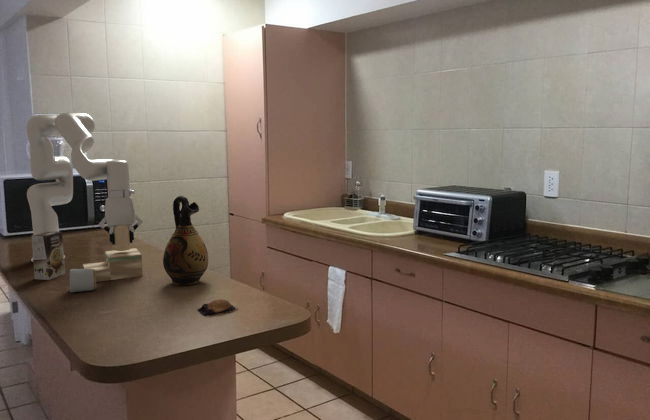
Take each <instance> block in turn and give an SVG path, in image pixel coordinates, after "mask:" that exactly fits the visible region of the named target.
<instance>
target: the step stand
mask: <svg viewBox="0 0 650 420" xmlns="http://www.w3.org/2000/svg"><path fill="white" fill-rule="evenodd" d="M104 256H105V261H100V262H90V263H89V262H88V263H82V269H94V270H96V283H97V282H105V281H113V280H123V279H129V278H138V277H143V275H144V274H143V271H144V270H143V257H142V253H141V252H140V251H139V249H137V248H136V247H133V248H131V247H130V250H126V251H115V249H112V250H105V251H104Z"/></svg>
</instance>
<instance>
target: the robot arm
mask: <svg viewBox="0 0 650 420" xmlns="http://www.w3.org/2000/svg"><path fill="white" fill-rule="evenodd" d="M95 124H96V123H95V121H94V119H93V117H92V116H91V115H89V114H87V112H86V113H85V112H62V113H60V114H37V115H34V116H32V117H30V118H29V119H28V121H27V122H26V126H25V127H26V128H25V130H26V136H27V139H28V142H29V160H30V175H31V177H32V178H33V179H34V180H36V181H51V180H55V181H54V182H42V183H36V184H33V185H31V186H29V188H27V191H26V198H27V202H28V204H29V209H30V213H31V223H32V235H36V234H40V233H44V232H60V230H59V229H60V226H59V217H58V214H57V212H56V211H55V210H54V208H53V206H61V205H66V204H68V203H70V202H71V201H72V200H73V196H74V170H75V171H76V172H77V173H78V174H79V176H80V177H81V178H82V179H84V180H86V181H91V182H94V181H103V180H106V181H107V182H106V183H107V198H105V202H104V203H105V204H104V213H105V214H104V217H103V218H102V219H101V220H100V222H99V223H98V226H99V227H100V228H101V229H103V230H104V231H106V232H107V234H109V243H111V245H113V246H114V244H115V240H114V233H113V229H114V226H118V225H128V226H129V233H130V244H133V241H134V240H135V234H134V232H135V231H136V230H137V228H139V226H140V225H141V224H143V220H142V219H140V217H138V216H137V215H136V211H135V210H136V209H135V206H134V205H135V203H134V200H133V199H134V198H133V197H132V195H134V194H135V191H134V190H132V189H131V187H130V173H129V172H130V170H129V169H130V168H129V163H128V161H127V160H124V159H114V158H113V159H112V158H99V159H98V158H97V159H89V158H88V157H87V156H86V155H85V153H87V152H88V151H90V150H91V148H92V147H93V145H94V143H95V139H94V137H93V135H92V133H93V132H94V131H95V129H96V128H95V126H96V125H95ZM49 137H62V138H63V139H64V141H66V143H67V144H68V146H69V147H70V148H71V153H70V158H68V157H67V156H64V155H55V151H54V150H55V149H54V145H53V142H52V141H51V139H50V138H49ZM73 168H74V169H73ZM105 223H106V224H107V226H106V225H105ZM108 226H109V227H108ZM65 258H66V255H65V254H64V259H65ZM30 260H31V263H33V257H32V258H30Z"/></svg>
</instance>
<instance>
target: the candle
mask: <svg viewBox="0 0 650 420" xmlns="http://www.w3.org/2000/svg"><path fill="white" fill-rule="evenodd" d="M129 230H130V229H129V226H128V225H118V226H114V229H113V233H114V240H115V244H114V245H113V246H114V249H113V250H115V251H126V250H130V249H131V243H130V233H129Z"/></svg>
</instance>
